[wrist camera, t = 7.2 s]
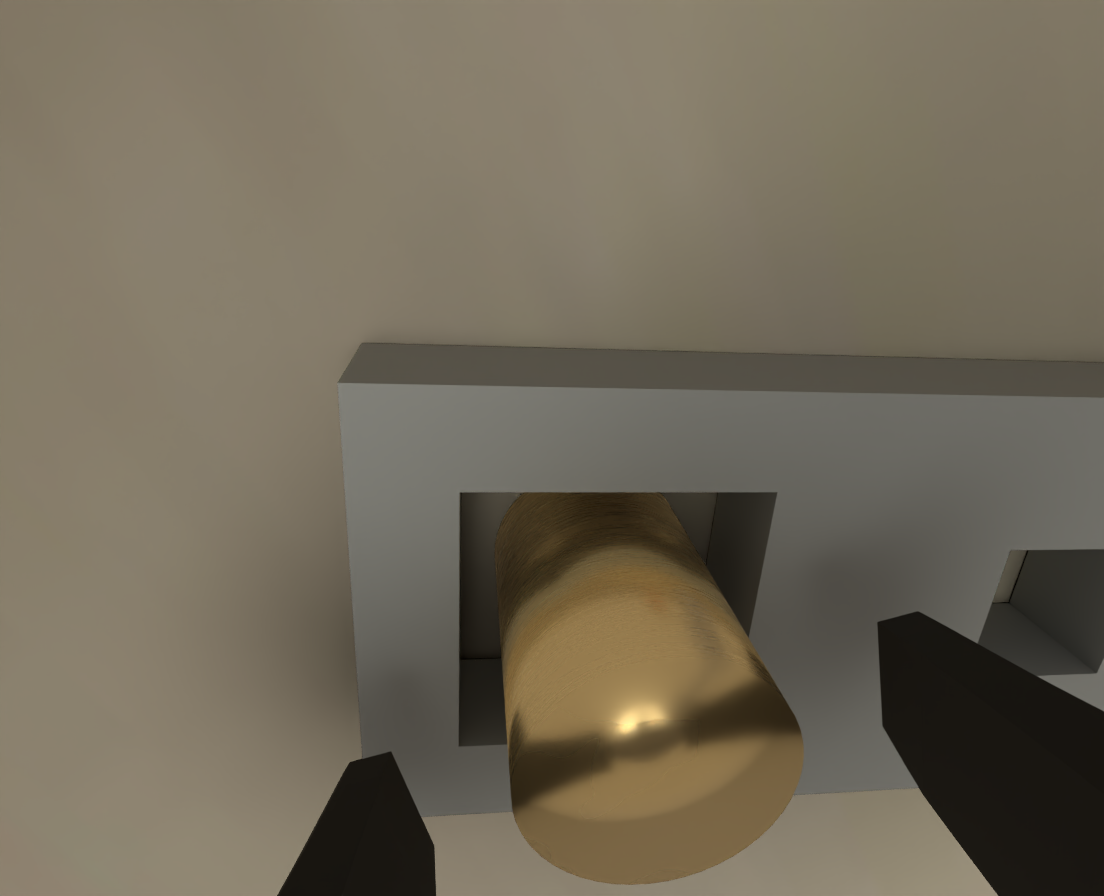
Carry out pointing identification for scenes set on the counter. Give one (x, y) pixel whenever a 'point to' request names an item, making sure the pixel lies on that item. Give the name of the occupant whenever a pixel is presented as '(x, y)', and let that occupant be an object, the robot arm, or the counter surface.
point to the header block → (727, 524)
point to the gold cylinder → (632, 694)
